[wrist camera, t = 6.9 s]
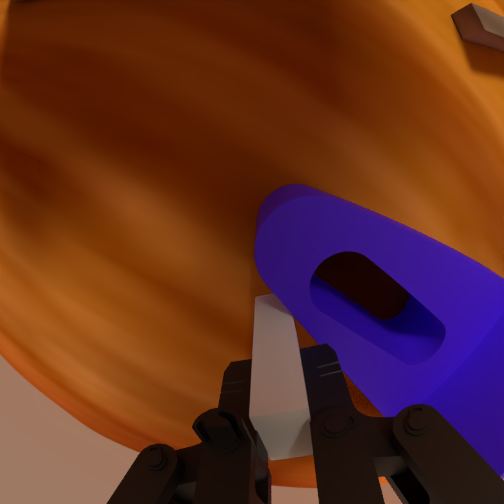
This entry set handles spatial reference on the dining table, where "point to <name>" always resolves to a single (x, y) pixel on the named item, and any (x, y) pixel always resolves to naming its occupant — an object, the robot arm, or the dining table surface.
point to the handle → (480, 26)
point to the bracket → (401, 326)
